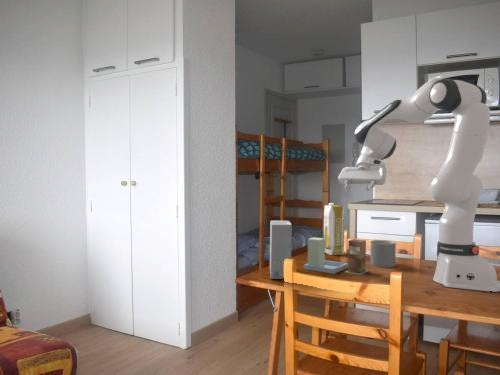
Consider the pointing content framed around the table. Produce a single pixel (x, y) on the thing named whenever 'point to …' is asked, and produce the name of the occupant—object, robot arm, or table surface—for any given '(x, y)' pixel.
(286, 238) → the hard drive box
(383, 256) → the coffee mug
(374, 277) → the table surface
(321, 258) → the sage box
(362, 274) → the felt pad
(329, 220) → the juice carton
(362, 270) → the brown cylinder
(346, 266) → the parts tray
